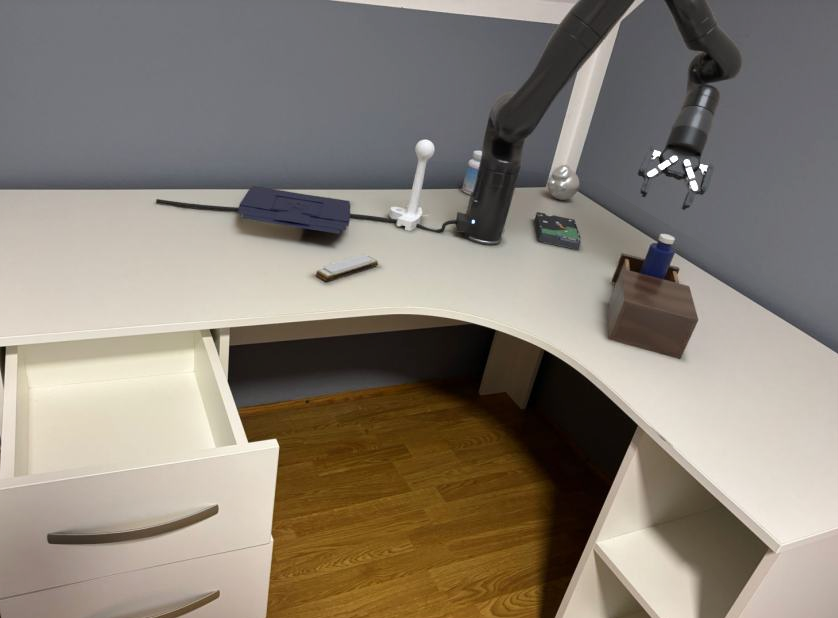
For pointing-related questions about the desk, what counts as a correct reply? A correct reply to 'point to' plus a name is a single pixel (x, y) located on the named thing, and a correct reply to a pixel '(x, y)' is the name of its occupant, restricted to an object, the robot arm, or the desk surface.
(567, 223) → the disk drive
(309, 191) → the desk surface
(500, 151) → the robot arm
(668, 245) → the bottle
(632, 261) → the drawer
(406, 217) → the joystick
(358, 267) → the harmonica
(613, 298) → the cabinet
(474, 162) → the pill bottle
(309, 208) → the laptop stand
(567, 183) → the silver rounded lump
